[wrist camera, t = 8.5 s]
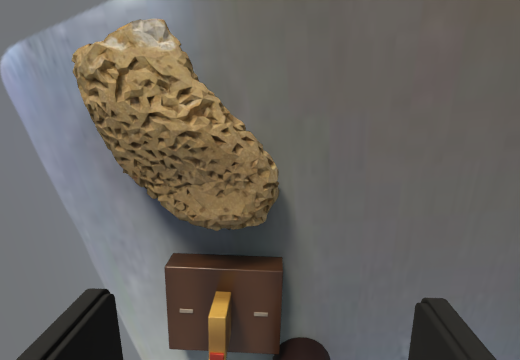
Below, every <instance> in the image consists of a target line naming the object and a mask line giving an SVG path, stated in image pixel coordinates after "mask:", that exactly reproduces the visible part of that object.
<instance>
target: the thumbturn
mask: <svg viewBox="0 0 520 360" xmlns="http://www.w3.org/2000/svg"><path fill="white" fill-rule="evenodd" d="M208 333H209V360H226V358H227V352H228V347H229V341H230V335H231V292H218V291H216V293H215V296H214V300H213V303H212V306H211V310H210V313H209V316H208Z"/></svg>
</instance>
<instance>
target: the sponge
mask: <svg viewBox="0 0 520 360" xmlns="http://www.w3.org/2000/svg"><path fill="white" fill-rule="evenodd" d="M180 46H181V43H180V42H179V41H178V40H177V38H175V37H174V36H173V35H172V34H171V33H170V31H169V29H168V27H167V25H166V23H165V21H164V20H161V19H149V20H137V21H133V22H130V23H129V24H127V25H125V26H123V27H121V28H119V29H117V31H115V32H113V33H111V34H109V35H108V36H107V37H106V38H105V40H104V41H102V42H95V43H94V44H88V45H85V46H83V47H81V48H78V50H77V51H76V52H75V53H74V54H73V58H72V61H73V62H74V63H75V66H74V69H73V73H74V75H75V77H76V79H77V83H78V88H79V90H80V93H81V96H82V98H83V101H84V104H85V106H86V107H87V109H88V111H89V113H90V116H91V119H92V120H93V122H94V123H95V125H96V128H97V131H98V132H99V134H100V135H101V137H102V138H103V140H104V142H105V144H106V146H107V148H108V149H109V150H111V151H112V153H113V155H114V158H115V159H116V161H117V162H118V164H119V165H120V166H121V167H122V168H123V173H127V174H128V175H129V176H130V177H131V178H132V179H134V180H135V182H136V183H137V184H138V185H139V186H141V187H145V188H146V189H147V194H148V195H149V196H151V197H152V198H153V199H155V198H158V201H160V203H161V205H162V206H163V207H164V208H166V209H167V210H168V211H170V212H171V213H172V214H173V215H175V216H176V217H177V218H178V219H179V220H184V221H188V222H189V223H190V224H193V225H196V226H202V227H205V228H207V229H213V230H216V231H218V230H220V229H222V228H226V229H228V230H230V228H231V229H232V230H233V229H241V228H244V227H247V226H258V225H259V224H261V223H264V221H265V220H266V219H267V217H266V216H267V214H268V212H269V210H270V208H271V206H272V205H273V204H274V203H275V201H276V200H277V198H278V195H279V190H278V185H279V183H278V182H277V180H278V169H277V167H276V165H275V163H274V161H273V159H272V157H271V156H270V155H269V154H268V153H267V152H266V151H264V150H263V145H262V144H261V143H260V142H259V141H257V139H256V138H255V137H254V135H253V134H252V133H251V132H250V131H249V132H248V131H245V129H246V128H245V125H244V123H243V122H242V121H240V120H238V119H237V118H235V117H234V116H233V115H231V114H230V112H229V111H228V110H227V109H226V108H225V107H224V106H223V105H222V103H221V102H220V100H219V99H218V98H217V97H215V96H214V93H213V92H211V91H209V90H208V89H207V87H206V86H205V85H204V84H202V83H199V81H198V77H197V75H196V74H195V73H194V72H193V67H192V64H191V62H190V60H189V57H188V55H187V53H186V52H183V51H182V50H181V48H180Z"/></svg>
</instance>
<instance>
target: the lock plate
mask: <svg viewBox="0 0 520 360" xmlns="http://www.w3.org/2000/svg"><path fill="white" fill-rule="evenodd" d="M165 282H166V299H167V316H168V333H169V349H181V350H201V351H209V333H208V316H209V313H210V310H211V306H212V303H213V300H214V296H215V293H216V291H218V292H231V335H230V341H229V347H228V352H241V353H262V354H279V350H280V327H281V305H282V283H283V263H282V257H259V256H233V255H208V254H182V253H173V255H172V256H171V258H170V259H169V261H168V262H167V264H166V266H165Z"/></svg>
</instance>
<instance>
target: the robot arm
mask: <svg viewBox="0 0 520 360" xmlns="http://www.w3.org/2000/svg"><path fill="white" fill-rule="evenodd" d="M17 360H123V354H122V347H121V340H120V332H119V326H118V318H117V310H116V303H115V297H114V295H113V294H110V292H109V290H107V289H87V290H86V291H85V292H84V293H83V294H82V295H81V296H80V297H79V298H78V299H77V300H76V301H75V302H74V303H73V304H72V305H71V306H70V307H69V308H68V309H67V310H66V311H65V312H64V313H63V314H62V315H61V316H60V317H59V318H58V319H57V320H56V321H55V322H54V323H53V324H52V325H51V326H50V327H49V328H48V329H47V330H46V331H45V332H44V333H43V334H42V335H41V336H40V337H39V338H38V339H37V340H36V341H35V342H34V343H33V344H32V345H31V346H29V348H28V349H27V350H25V351H24V353H22V354H21V356H20V357H18V358H17ZM408 360H496V359H495V357H494V356H493V355H492V354H491V353H490V352H489V351H488V349H487V348H486V347H485V346H484V345H483V343H482V342H481V341H480V340H479V339H478V337H477V336H476V335H475V334H474V333H473V331H472V330H471V329H470V328H469V327H468V325H467V324H466V323H465V322H464V321H463V319H462V318H461V317H460V316H459V315H458V313H457V312H456V311H455V310H454V309H453V307H452V306H451V305H450V304H449V303H448V301H447V300H445V299H443V298H423V299H422V301H421V303H417V304H416V306H415V313H414V320H413V328H412V335H411V343H410V350H409V358H408Z"/></svg>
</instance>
